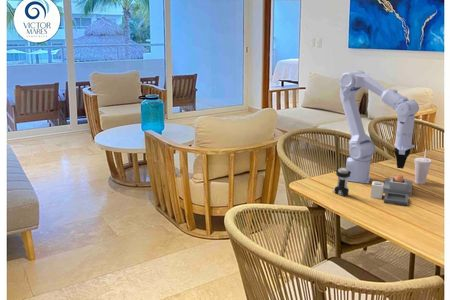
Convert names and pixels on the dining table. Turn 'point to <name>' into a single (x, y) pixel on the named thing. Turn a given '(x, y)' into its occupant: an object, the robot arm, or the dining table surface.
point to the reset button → (398, 178)
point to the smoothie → (421, 169)
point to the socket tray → (396, 198)
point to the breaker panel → (398, 186)
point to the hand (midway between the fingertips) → (400, 167)
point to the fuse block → (377, 190)
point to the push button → (342, 182)
